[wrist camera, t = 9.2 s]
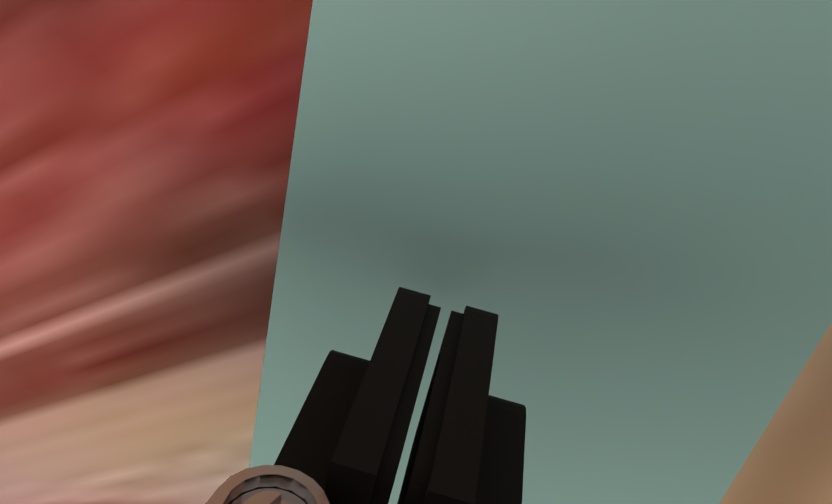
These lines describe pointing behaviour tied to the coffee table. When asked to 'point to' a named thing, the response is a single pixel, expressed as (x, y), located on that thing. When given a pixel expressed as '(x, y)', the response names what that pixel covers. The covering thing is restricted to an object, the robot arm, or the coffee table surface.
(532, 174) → the panel
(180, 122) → the coffee table surface
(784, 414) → the trailer bed
